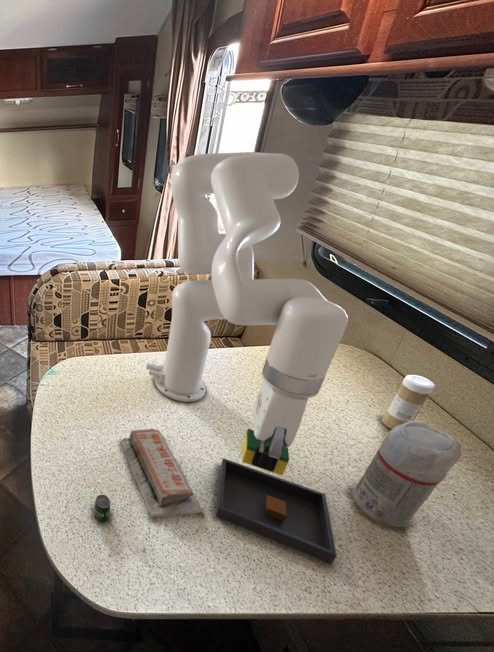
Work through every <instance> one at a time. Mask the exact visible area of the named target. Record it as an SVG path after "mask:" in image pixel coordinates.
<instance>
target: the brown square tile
mask: <svg viewBox="0 0 494 652" xmlns="http://www.w3.org/2000/svg"><path fill="white" fill-rule="evenodd" d="M265 514H266V515H268V516H271V517H274V518H276V519H279V520H281V521H284V520H285V518H286V516H287V513H286V502H284V501H282V500H279V499H276V498H274V497H271V496H268V495H267V496H266V499H265Z"/></svg>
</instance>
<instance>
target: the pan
mask: <svg viewBox="0 0 494 652" xmlns="http://www.w3.org/2000/svg"><path fill="white" fill-rule="evenodd" d="M267 495H268V496H271V497H274V498H276V499H279V500H282V501H284V502H286V513H287V516H286V518H285V520H284V521H281V520H279V519H276V518H274V517H271V516H268V515H266V514H265V499H266V496H267ZM216 500H217V501H216V512H215V516H216V518H219V519H221V520H223V521H226V522H229V523H231V524H232V525H235V526H238V527H239V528H243V529H245V530H248V531H250V532H252V533H255V534H257V535H260V536H262V537H264V538H267V539H269V540H272V541H273V542H276V543H279V544H281V545H284V546H286V547H288V548H291V549H293V550H296V551H298V552H300V553H303V554H305V555H306V556H310V557H312V558H315V559H317V560H319V561H321V562H324V563H327V564H329V565H332V564H333V562H334V560H335V559H336V557H337V552H336V547H335V546H336V545H335V541H334V535H333V530H332V524H331V518H330V513H329V512H330V511H329V506H328V501H327V496H326V493H323V492H321V491H318V490H315V489H312V488H309V487H308V486H307V487H306V486H304V485H301V484H298V483H295V482H293V481H290V480H287V479H284V478H281V477H278V476H275V475H273V474H270V473H266V472H263V471H261V470H259V469H255V468H253V467H250V466H246V465H244V464H241V463H239V462H235V461H233V460H229V459H227V458H224V457H223V458H222V460H221V462H220V466H219V477H218V489H217V499H216Z"/></svg>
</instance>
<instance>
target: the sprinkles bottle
mask: <svg viewBox="0 0 494 652" xmlns="http://www.w3.org/2000/svg"><path fill="white" fill-rule="evenodd" d="M435 387H436V385H435V384H434V382H433V381H431V380H430V379H428V378H426V377H424V376H421V375H418V374H417V375H416V374H407V375H406V376H405V377H404V379H403V380H402V384H401V386H400V388H399V390H398V392H397V393H396V395H395V397H394V398H393V399H392V402H391V404H390V406H389V407H388V409H387V412H386V413H385V415H384V417H382V419H381V420H382V424H384V425H385V426H386V427H388V428H389V429H391V430H392V429H393V428H394V427H396V426H398V425H401V424H403V423H407V422H409V421H415V419H416V418H417V416H418V415H419V413H420V411H421V408H422V407H423V405H424V404H425V402H426V401H427V399H428V397H429V396H430V395H431V394H432V393H433V392H434V390H435Z"/></svg>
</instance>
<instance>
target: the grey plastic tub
mask: <svg viewBox="0 0 494 652" xmlns="http://www.w3.org/2000/svg"><path fill="white" fill-rule="evenodd" d="M461 457H462V445H461V443H460V442H459V441H457V440H456V439H454V438H453V437H451V436H450V435H448V434H447V433H446V432H445V431H443V430H440V429H437V428H435V427H433V426H431V425H429V424H428V423H425V422H424V421H416V420H413V421H409V422H407V423H403V424H401V425H398V426H396V427H394V428H393V429H391V430H390V431H389V432H388V433H387V434H386V435H385V437H384V438H383V440H382V441H381V443H380V446H379V448H378V449H377V451H376V452H375V455H374V456H373V458H372V459H371V462H370V464H368V467H367V468H366V469H365V471H364V473H363V475H362V476H361V477H360V479H359V480H358V482H357V484H356V486H355V487H354V488H353V489H352V490H351V491H352V492H351V495H352V498H353V500H354V502H355V503H356V505H357V506H358V508H359V509H361V511H362V512H363V513H364V514H366V515H367V516H368V517H370V518H371V519H372V520H375V521H377V522H378V523H381V524H383V525H386V526H391V527H396V528H402V527H404V528H405V527H407V526H410V524H411V520H412V519H413V517H414V516H415V515H416V513H417V512H418V511H419V509H420V508H421V507H422V505H424V503H425V502H426V501H427V499H428V498H429V497H430V496H431V495H432V494H433V492H434V490H435V488H436V487H437V486H438V485H439V484H440V483H441V482H442V481H444V480H445V478H447V475H448V473H449V471H450V470H451V469H452V468H453V466H454V465H455V464H457V463H458V461H459V459H461Z"/></svg>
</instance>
